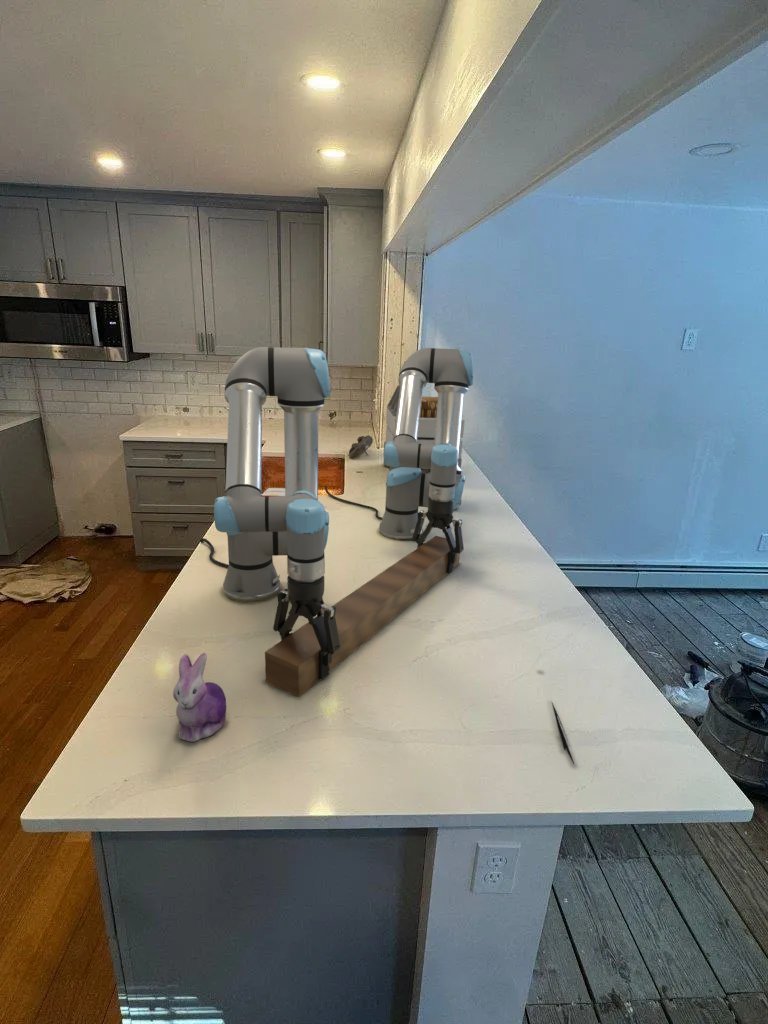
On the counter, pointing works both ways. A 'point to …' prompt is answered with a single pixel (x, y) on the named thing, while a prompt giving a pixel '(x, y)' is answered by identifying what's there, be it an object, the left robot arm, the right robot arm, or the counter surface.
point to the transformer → (425, 422)
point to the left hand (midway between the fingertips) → (306, 668)
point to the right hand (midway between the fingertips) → (435, 567)
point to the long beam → (358, 616)
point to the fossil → (360, 446)
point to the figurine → (198, 701)
